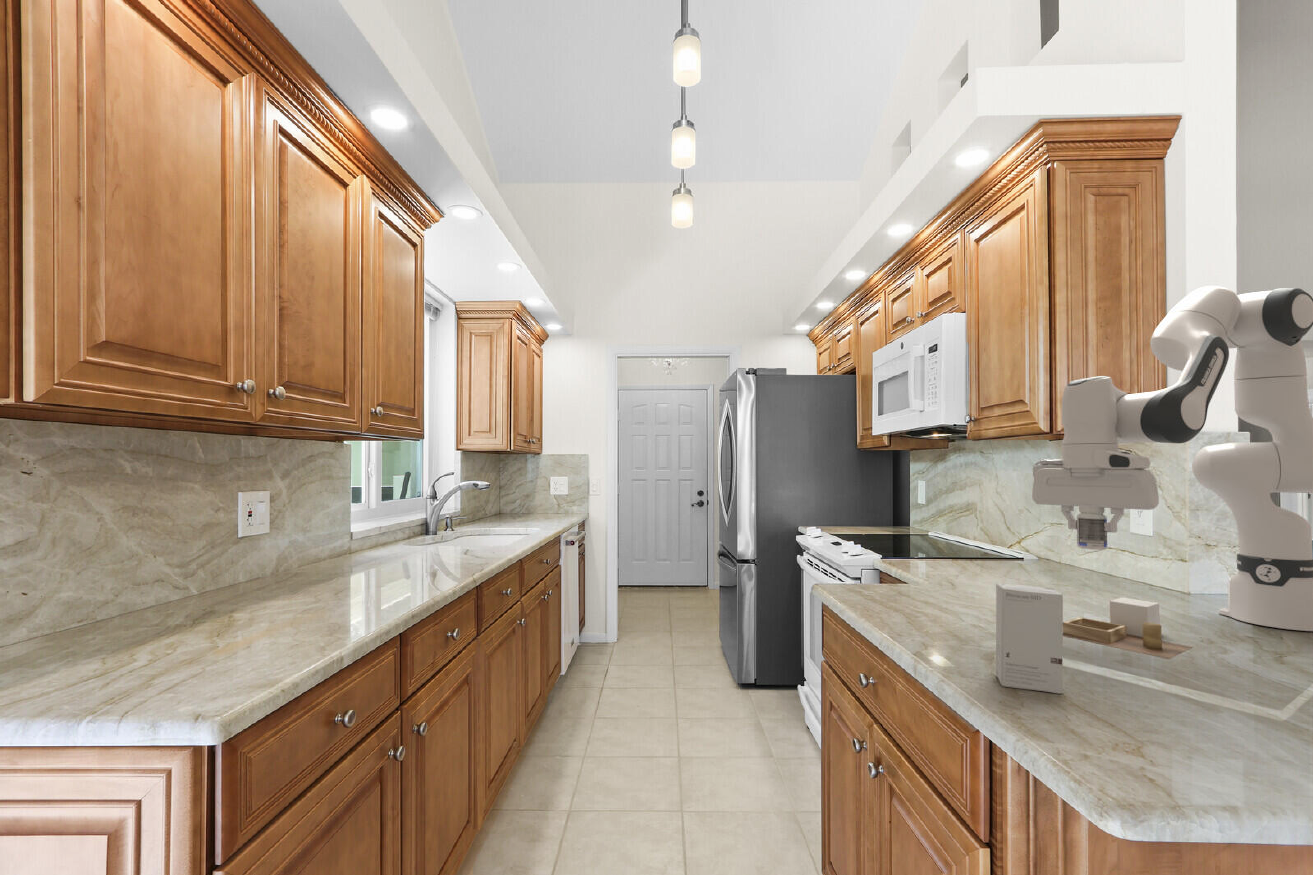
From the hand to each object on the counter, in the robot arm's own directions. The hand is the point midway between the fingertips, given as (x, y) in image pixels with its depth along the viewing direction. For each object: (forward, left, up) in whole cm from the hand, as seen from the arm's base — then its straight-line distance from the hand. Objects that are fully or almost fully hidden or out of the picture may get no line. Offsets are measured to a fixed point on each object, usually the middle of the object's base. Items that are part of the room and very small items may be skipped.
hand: (1092, 530), depth 116 cm
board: (0, +4, -21) cm, 22 cm away
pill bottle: (0, 0, -4) cm, 4 cm away
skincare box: (+35, +4, -21) cm, 41 cm away
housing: (-9, +3, -21) cm, 23 cm away
